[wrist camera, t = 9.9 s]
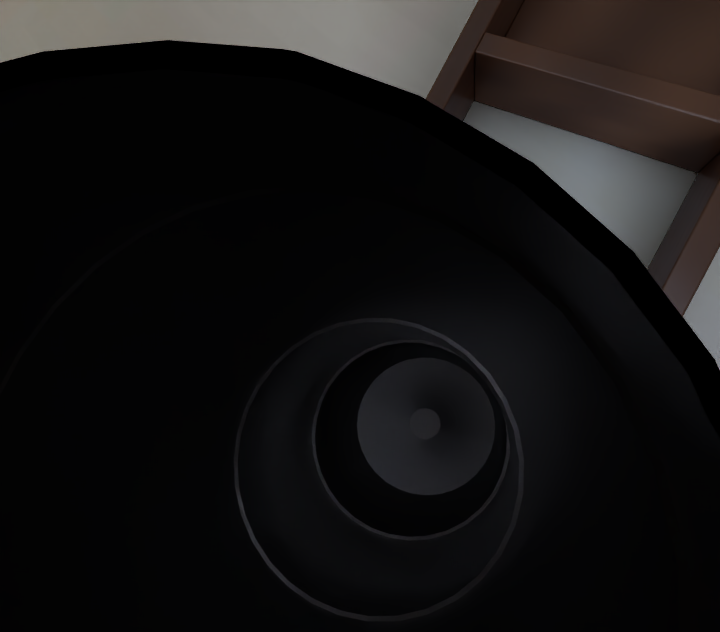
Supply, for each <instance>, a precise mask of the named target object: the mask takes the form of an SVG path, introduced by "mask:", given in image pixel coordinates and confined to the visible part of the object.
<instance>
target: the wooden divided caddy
mask: <svg viewBox="0 0 720 632" xmlns="http://www.w3.org/2000/svg"><path fill="white" fill-rule="evenodd" d="M474 99H475V101H478V102H481V103H484V104H487V105H490V106H494V107H497V108H500V109H503V110H506V111H509V112H512V113H515V114H518V115H521V116H524V117H528V118H531V119H534V120H537V121H540V122H543V123H546V124H549V125H552V126H555V127H558V128H561V129H565V130H568V131H571V132H574V133H577V134H580V135H583V136H586V137H589V138H592V139H595V140H599V141H602V142H605V143H608V144H611V145H614V146H617V147H620V148H623V149H626V150H629V151H633V152H636V153H639V154H642V155H645V156H648V157H651V158H654V159H657V160H660V161H663V162H666V163H670V164H673V165H676V166H679V167H682V168H685V169H688V170H691V171H694V172H699V173H698V175H697V177H696V179H695V181H694V183H693V184H692V186H691V188H690V190H689V192H688V194H687V196H686V198H685V200H684V201H683V203H682V205H681V207H680V209H679V211H678V213H677V215H676V217H675V218H674V220H673V222H672V224H671V226H670V228H669V230H668V232H667V234H666V235H665V237H664V239H663V241H662V243H661V245H660V247H659V249H658V251H657V253H656V254H655V256H654V258H653V260H652V262H651V264H650V266H649V268H648V272H649V273H650V274H651V276H652V277H653V278H654V280H655V281H656V282H657V284H658V285H659V286H660V288H661V289H662V290H663V292H664V293H665V294H666V296H667V297H668V298H669V300H670V301H671V302H672V304H673V305H674V306H675V308H676V309H677V310H678V311H679V313H680V314H681V315H682V317H683V315H684V313H685V312H686V310H687V308H688V306H689V304H690V302H691V300H692V298H693V296H694V295H695V293H696V291H697V289H698V287H699V285H700V283H701V281H702V279H703V277H704V276H705V274H706V272H707V270H708V268H709V266H710V264H711V262H712V260H713V259H714V257H715V255H716V253H717V251H718V249H719V247H720V0H478V2H477V4H476V6H475V8H474V10H473V12H472V14H471V15H470V17H469V19H468V21H467V23H466V25H465V27H464V28H463V30H462V32H461V34H460V36H459V38H458V40H457V42H456V43H455V45H454V47H453V49H452V51H451V53H450V55H449V56H448V58H447V60H446V62H445V64H444V66H443V68H442V70H441V71H440V73H439V75H438V77H437V79H436V81H435V83H434V85H433V86H432V88H431V90H430V92H429V94H428V96H427V98H426V100H427V101H429V102H431V103H433V104H434V105H436V106H438V107H439V108H441V109H443V110H444V111H446V112H448V113H450V114H451V115H453V116H455V117H456V118H458V119H460V120H461V121H463V119H464V117H465V116H466V114H467V112H468V110H469V108H470V106H471V104H472V103H473V101H474Z"/></svg>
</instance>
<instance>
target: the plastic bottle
mask: <svg viewBox="0 0 720 632" xmlns="http://www.w3.org/2000/svg"><path fill="white" fill-rule="evenodd" d="M0 632H720V370H719V368H718V366H717V363H716V361H715V359H714V358H713V357H712V355H711V354H710V353H709V351H708V350H707V349H706V347H705V346H704V345H703V343H702V342H701V341H700V339H699V338H698V337H697V335H696V334H695V333H694V331H693V330H692V329H691V327H690V326H689V325H688V323H687V322H686V321H685V319H684V318H683V317H682V315H681V314H680V313H679V311H678V310H677V309H676V308H675V306H674V305H673V304H672V302H671V301H670V300H669V298H668V297H667V296H666V294H665V293H664V292H663V290H662V289H661V288H660V286H659V285H658V284H657V282H656V281H655V280H654V278H653V277H652V276H651V274H650V273H649V272H648V270H647V269H646V268H645V266H644V265H643V264H642V262H641V261H640V260H639V258H638V257H637V256H636V254H635V253H634V252H633V251H632V250H631V249H630V248H629V247H628V246H626V245H625V244H624V243H623V242H622V241H621V240H620V239H619V238H617V237H616V236H615V235H614V234H613V233H612V232H611V231H610V230H608V229H607V228H606V227H605V226H604V225H603V224H602V223H601V222H599V221H598V220H597V219H596V218H595V217H594V216H593V215H592V214H590V213H589V212H588V211H587V210H586V209H585V208H584V207H582V206H581V205H580V204H579V203H578V202H577V201H576V200H575V199H573V198H572V197H571V196H570V195H569V194H568V193H567V192H566V191H564V190H563V189H562V188H561V187H560V186H559V185H558V184H557V183H555V182H554V181H553V180H552V179H551V178H550V177H549V176H548V175H546V174H545V173H544V172H543V171H542V170H541V169H540V168H539V167H537V166H536V165H535V164H534V163H533V162H531V161H529V160H528V159H526V158H524V157H522V156H521V155H519V154H517V153H516V152H514V151H512V150H511V149H509V148H507V147H505V146H504V145H502V144H500V143H499V142H497V141H495V140H494V139H492V138H490V137H489V136H487V135H485V134H483V133H482V132H480V131H478V130H477V129H475V128H473V127H472V126H470V125H468V124H466V123H465V122H463V121H461V120H460V119H458V118H456V117H455V116H453V115H451V114H450V113H448V112H446V111H444V110H443V109H441V108H439V107H438V106H436V105H434V104H433V103H431V102H429V101H427V100H426V99H424V98H422V97H421V96H419V95H416V94H413V93H410V92H408V91H405V90H402V89H399V88H397V87H394V86H391V85H388V84H385V83H383V82H380V81H377V80H374V79H372V78H369V77H366V76H363V75H360V74H358V73H355V72H352V71H349V70H347V69H344V68H341V67H338V66H335V65H333V64H330V63H327V62H324V61H322V60H319V59H316V58H313V57H311V56H308V55H305V54H302V53H299V52H297V51H291V50H285V49H274V48H262V47H249V46H236V45H223V44H210V43H197V42H184V41H172V40H164V41H153V42H142V43H131V44H120V45H109V46H99V47H88V48H77V49H66V50H55V51H44V52H39V53H36V54H32V55H28V56H24V57H21V58H17V59H13V60H9V61H5V62H2V63H0Z"/></svg>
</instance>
